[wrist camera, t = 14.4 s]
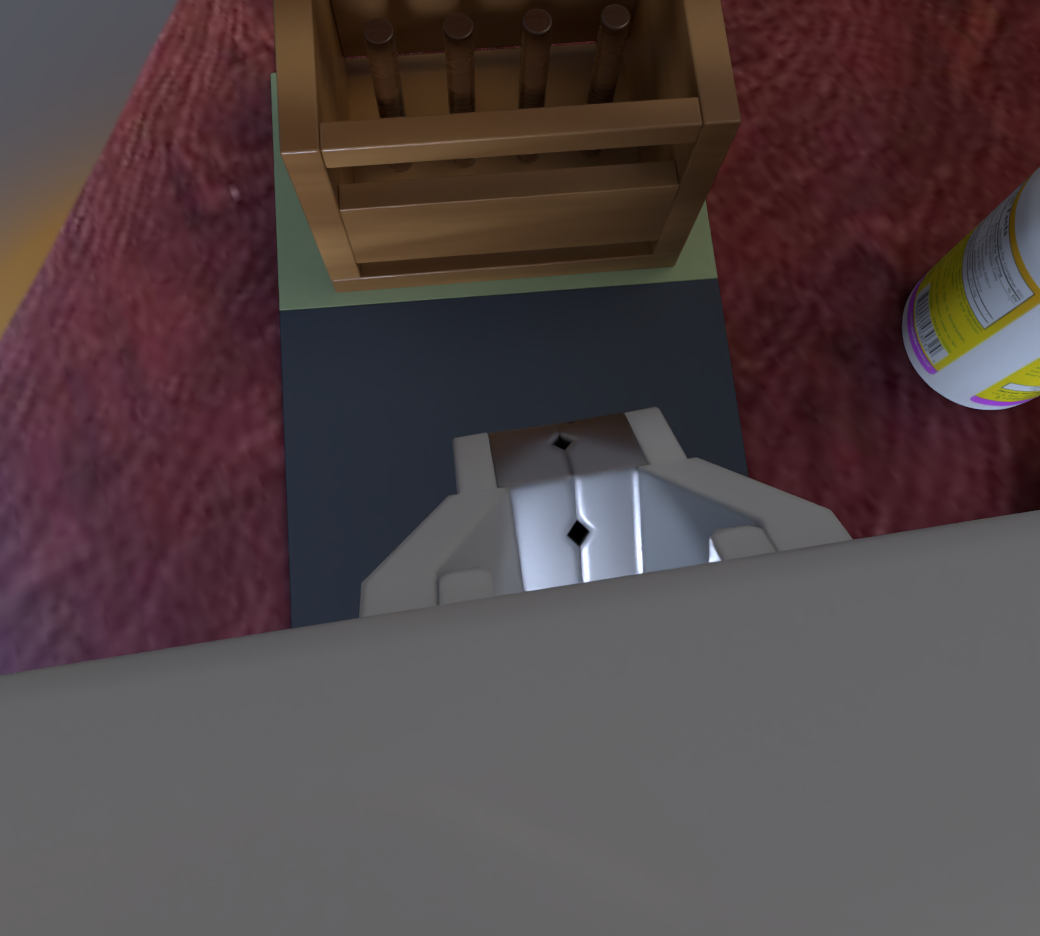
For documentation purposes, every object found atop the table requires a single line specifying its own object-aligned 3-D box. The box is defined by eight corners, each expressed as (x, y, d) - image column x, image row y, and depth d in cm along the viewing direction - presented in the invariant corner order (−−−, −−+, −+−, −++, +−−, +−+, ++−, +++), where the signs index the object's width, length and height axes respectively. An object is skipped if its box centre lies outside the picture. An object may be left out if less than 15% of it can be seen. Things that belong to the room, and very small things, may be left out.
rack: (675, 267, 37) (742, 121, 27) (335, 293, 36) (279, 153, 26) (643, 57, 39) (695, -147, 29) (323, 78, 38) (266, -125, 29)
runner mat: (763, 593, 34) (766, 592, 34) (294, 637, 33) (291, 637, 33) (680, 54, 40) (682, 47, 39) (272, 78, 39) (270, 72, 38)
